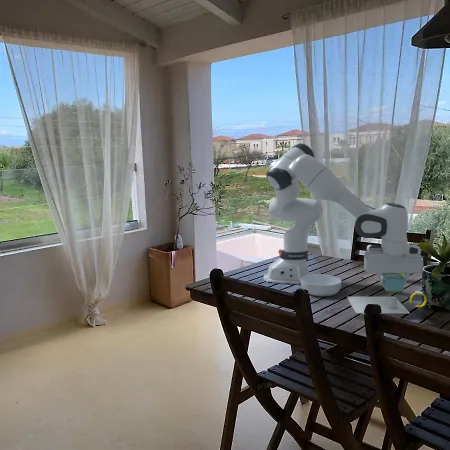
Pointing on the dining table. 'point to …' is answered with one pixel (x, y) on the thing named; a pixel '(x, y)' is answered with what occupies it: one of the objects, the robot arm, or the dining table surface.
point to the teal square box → (393, 282)
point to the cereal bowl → (321, 284)
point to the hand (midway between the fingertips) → (392, 284)
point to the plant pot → (394, 273)
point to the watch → (418, 294)
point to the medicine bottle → (368, 250)
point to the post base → (385, 302)
